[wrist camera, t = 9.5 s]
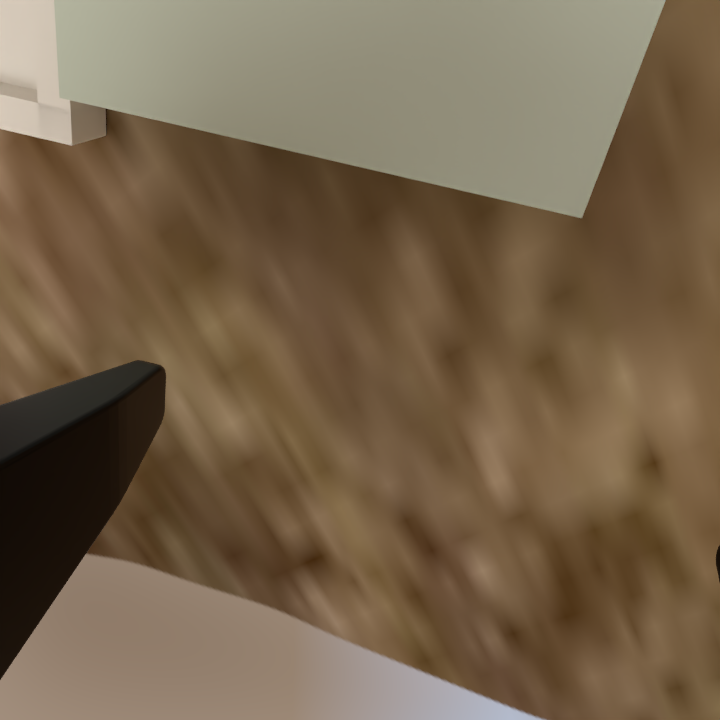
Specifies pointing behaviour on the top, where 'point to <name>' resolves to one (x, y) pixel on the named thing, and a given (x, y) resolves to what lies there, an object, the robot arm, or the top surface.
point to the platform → (378, 81)
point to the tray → (38, 79)
